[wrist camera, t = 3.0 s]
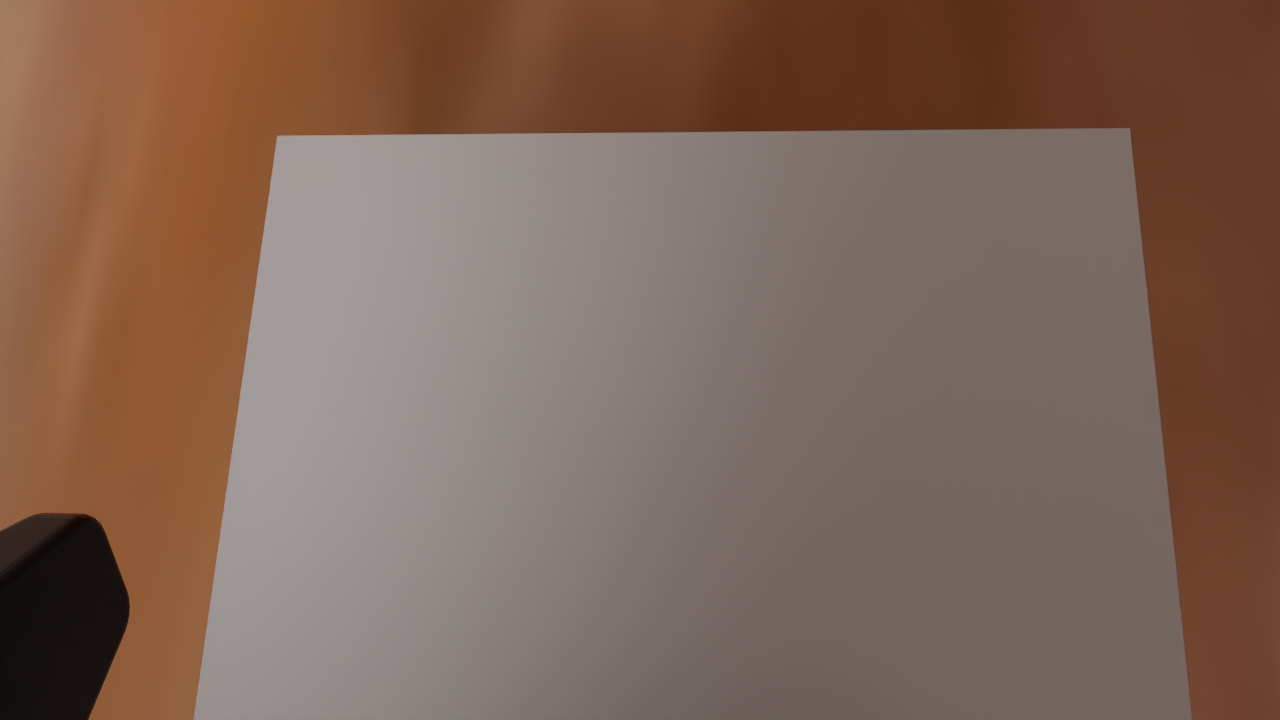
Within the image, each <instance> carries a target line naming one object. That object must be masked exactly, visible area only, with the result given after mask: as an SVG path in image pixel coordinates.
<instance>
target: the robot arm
mask: <svg viewBox="0 0 1280 720" xmlns="http://www.w3.org/2000/svg"><path fill="white" fill-rule="evenodd" d="M129 609H130V605H129V596H128V592H127V589H126V587H125V584H124V581H123V579H122V576H121V573H120V571H119V568H118V565H117V563H116V560H115V557H114V555H113V552H112V549H111V547H110V544H109V541H108V539H107V536H106V533H105V531H104V529H103V527H102V525H101V524H100V523H99V522H98V521H97V520H96V519H95V518H94V517H92V516H89V515H87V514H74V513H40V514H35V515H32V516H30V517H27V518H25V519H23V520H21V521H19V522H17V523H15V524H13V525H11V526H10V527H8V528H6V529H4V530H2V531H0V720H88V719H89V716H90V714H91V712H92V709H93V707H94V704H95V702H96V700H97V697H98V695H99V692H100V690H101V688H102V685H103V683H104V681H105V678H106V676H107V673H108V671H109V669H110V666H111V664H112V661H113V659H114V657H115V654H116V652H117V649H118V647H119V645H120V642H121V640H122V637H123V635H124V633H125V630H126V627H127V623H128V618H129Z"/></svg>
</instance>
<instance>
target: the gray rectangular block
mask: <svg viewBox="0 0 1280 720" xmlns="http://www.w3.org/2000/svg"><path fill="white" fill-rule="evenodd" d="M194 720H1192V714H1191V704H1190V695H1189V685H1188V676H1187V666H1186V657H1185V647H1184V638H1183V628H1182V619H1181V609H1180V600H1179V590H1178V581H1177V571H1176V562H1175V552H1174V543H1173V533H1172V524H1171V514H1170V505H1169V495H1168V486H1167V476H1166V467H1165V457H1164V448H1163V438H1162V429H1161V419H1160V410H1159V400H1158V391H1157V381H1156V372H1155V362H1154V353H1153V343H1152V334H1151V324H1150V315H1149V305H1148V296H1147V286H1146V277H1145V267H1144V258H1143V248H1142V239H1141V229H1140V220H1139V210H1138V201H1137V191H1136V182H1135V172H1134V163H1133V153H1132V144H1131V134H1130V128H1081V129H971V130H861V131H751V132H641V133H531V134H421V135H312V136H277V142H276V149H275V156H274V163H273V170H272V177H271V184H270V191H269V198H268V205H267V212H266V219H265V226H264V233H263V240H262V247H261V254H260V261H259V268H258V275H257V282H256V289H255V296H254V303H253V310H252V317H251V324H250V331H249V338H248V345H247V351H246V358H245V365H244V372H243V379H242V386H241V393H240V400H239V407H238V414H237V421H236V428H235V435H234V442H233V449H232V456H231V463H230V470H229V477H228V484H227V491H226V498H225V505H224V512H223V519H222V526H221V533H220V540H219V547H218V554H217V561H216V568H215V574H214V581H213V588H212V595H211V602H210V609H209V616H208V623H207V630H206V637H205V644H204V651H203V658H202V665H201V672H200V679H199V686H198V693H197V700H196V707H195V714H194Z"/></svg>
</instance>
